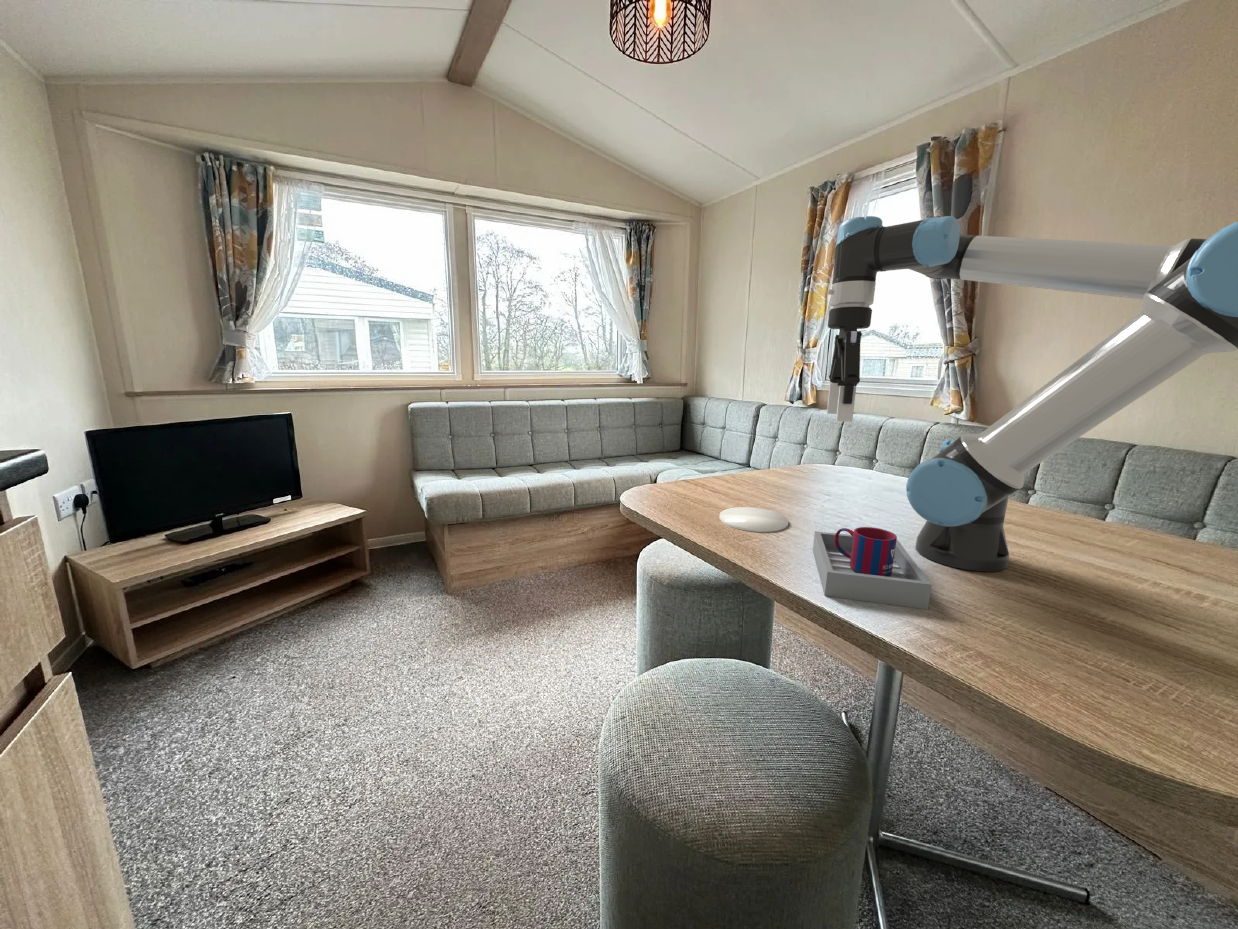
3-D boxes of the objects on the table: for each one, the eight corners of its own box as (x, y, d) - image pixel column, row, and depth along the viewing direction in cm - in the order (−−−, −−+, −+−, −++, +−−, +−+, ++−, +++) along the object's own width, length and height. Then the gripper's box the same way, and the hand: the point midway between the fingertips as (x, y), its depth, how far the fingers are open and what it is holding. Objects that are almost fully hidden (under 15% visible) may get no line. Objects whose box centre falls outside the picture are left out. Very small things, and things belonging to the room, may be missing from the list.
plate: (786, 515, 122) (786, 510, 122) (789, 537, 107) (790, 531, 107) (721, 509, 126) (722, 504, 126) (716, 529, 111) (716, 524, 111)
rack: (894, 559, 94) (897, 539, 93) (927, 609, 75) (931, 584, 75) (812, 550, 98) (814, 531, 97) (824, 595, 80) (827, 571, 79)
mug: (880, 581, 82) (885, 543, 80) (825, 561, 89) (829, 526, 88) (898, 571, 86) (904, 535, 84) (844, 553, 93) (848, 519, 92)
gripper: (822, 313, 105) (812, 410, 110) (839, 299, 82) (826, 424, 87) (859, 312, 103) (848, 411, 108) (888, 299, 80) (872, 426, 85)
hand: (838, 417), depth 97 cm, fingers open, 13 cm apart
